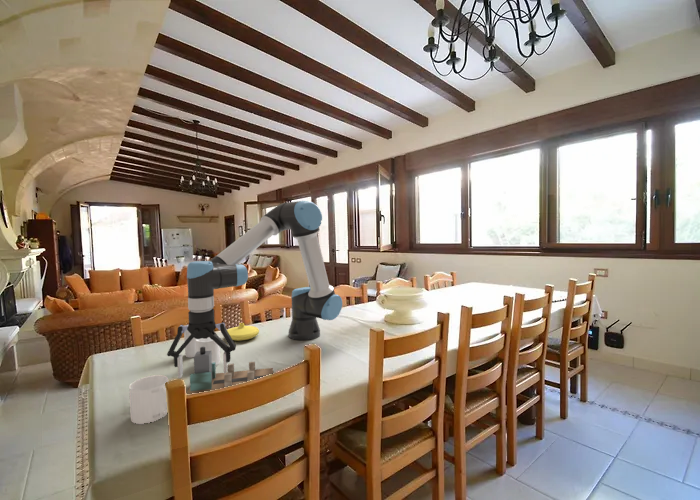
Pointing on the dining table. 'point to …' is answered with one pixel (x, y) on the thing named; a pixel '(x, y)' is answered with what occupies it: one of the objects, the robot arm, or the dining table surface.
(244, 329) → the yellow pattypan squash
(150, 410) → the mug
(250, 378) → the board
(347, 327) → the dining table surface
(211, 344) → the cup
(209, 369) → the block
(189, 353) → the mug
